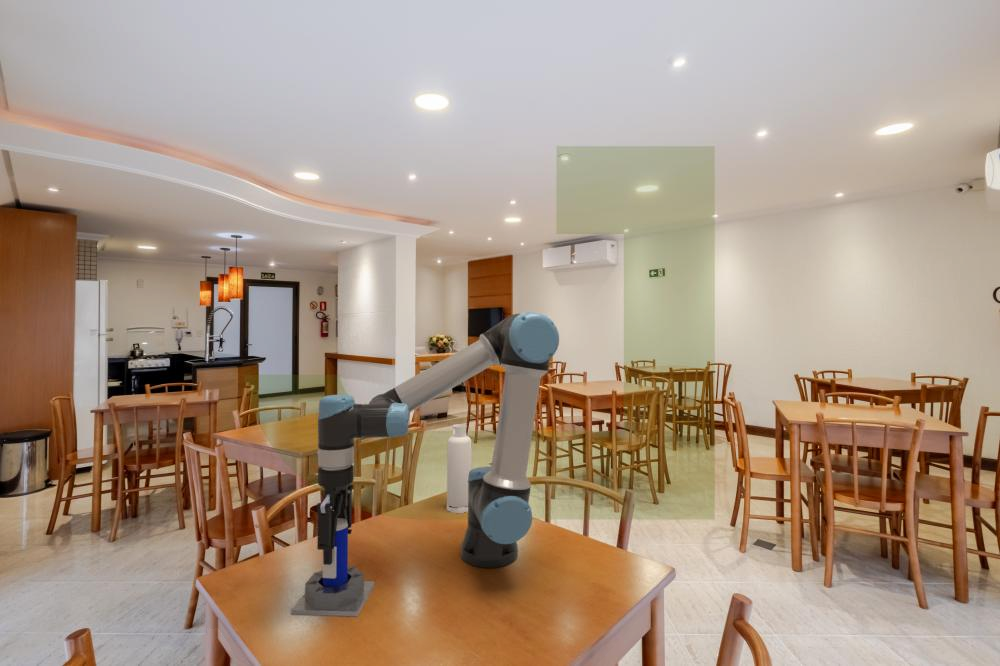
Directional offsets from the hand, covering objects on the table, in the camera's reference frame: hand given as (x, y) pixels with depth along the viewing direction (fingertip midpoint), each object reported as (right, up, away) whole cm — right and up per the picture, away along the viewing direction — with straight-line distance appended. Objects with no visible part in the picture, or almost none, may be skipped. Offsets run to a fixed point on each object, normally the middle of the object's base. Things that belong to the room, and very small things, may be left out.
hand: (335, 570), depth 106 cm
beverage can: (0, -4, 0) cm, 4 cm away
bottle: (+23, -7, +54) cm, 59 cm away
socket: (0, -6, 0) cm, 6 cm away
